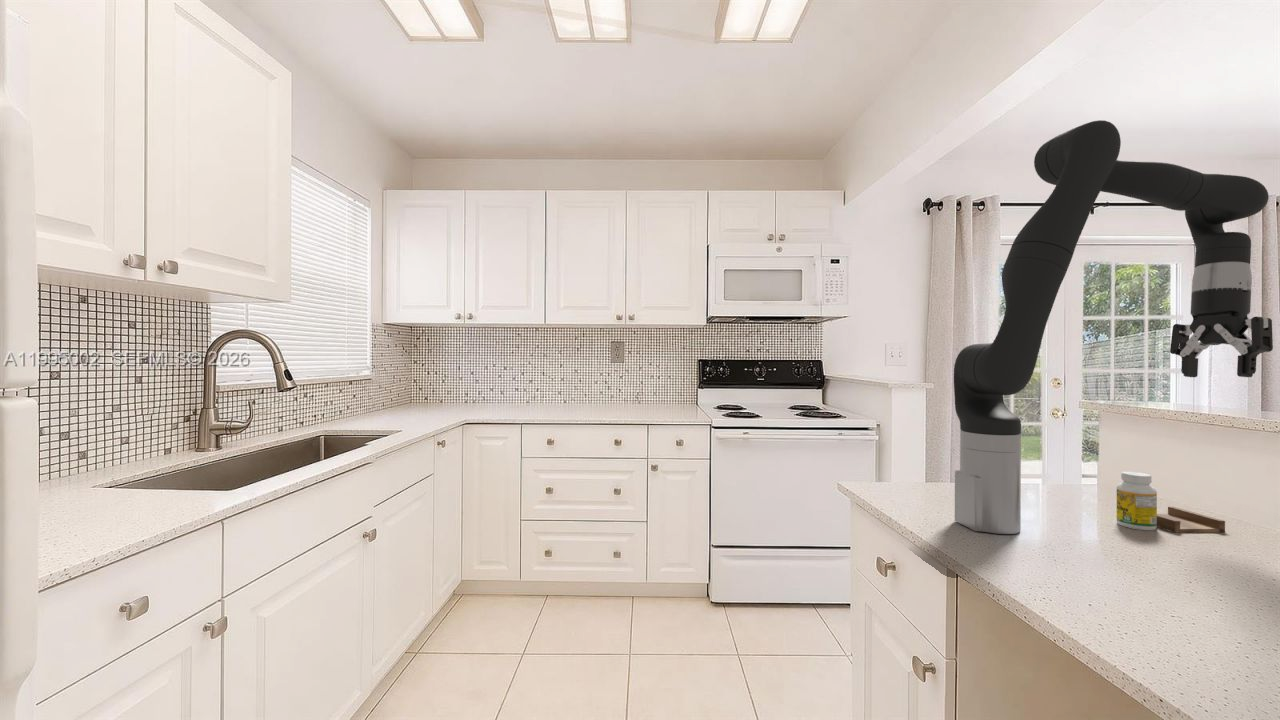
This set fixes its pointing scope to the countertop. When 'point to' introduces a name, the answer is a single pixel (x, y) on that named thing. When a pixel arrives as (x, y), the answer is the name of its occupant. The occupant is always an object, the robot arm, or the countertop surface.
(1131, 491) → the supplement bottle
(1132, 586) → the countertop surface
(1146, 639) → the countertop surface
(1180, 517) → the cradle
